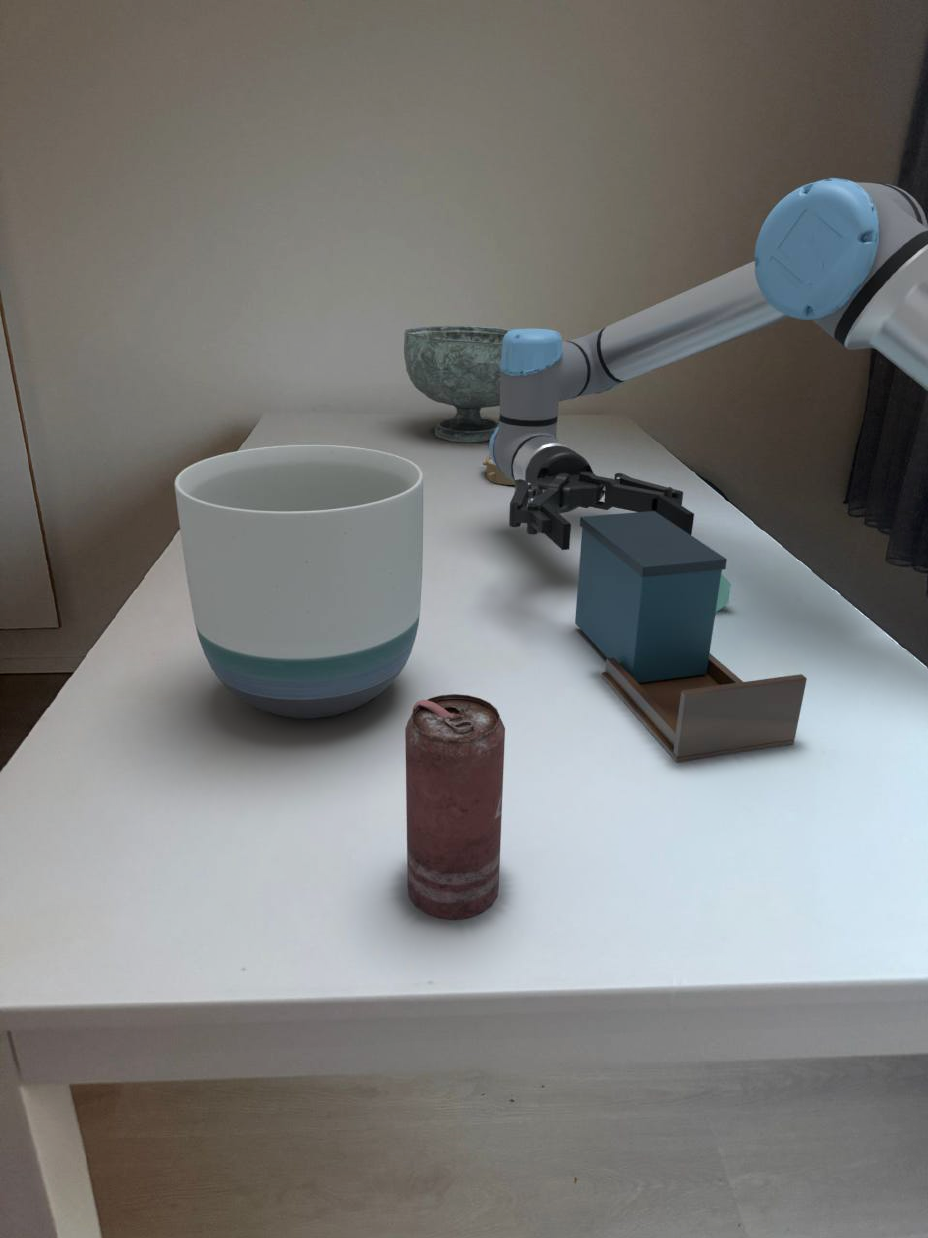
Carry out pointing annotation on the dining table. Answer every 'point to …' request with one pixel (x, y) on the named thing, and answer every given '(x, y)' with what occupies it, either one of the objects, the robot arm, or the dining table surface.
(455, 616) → the dining table surface
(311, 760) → the dining table surface
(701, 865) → the dining table surface
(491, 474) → the alarm clock
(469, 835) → the can
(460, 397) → the decorative bowl
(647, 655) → the storage container
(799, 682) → the wooden drawer
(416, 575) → the planter
